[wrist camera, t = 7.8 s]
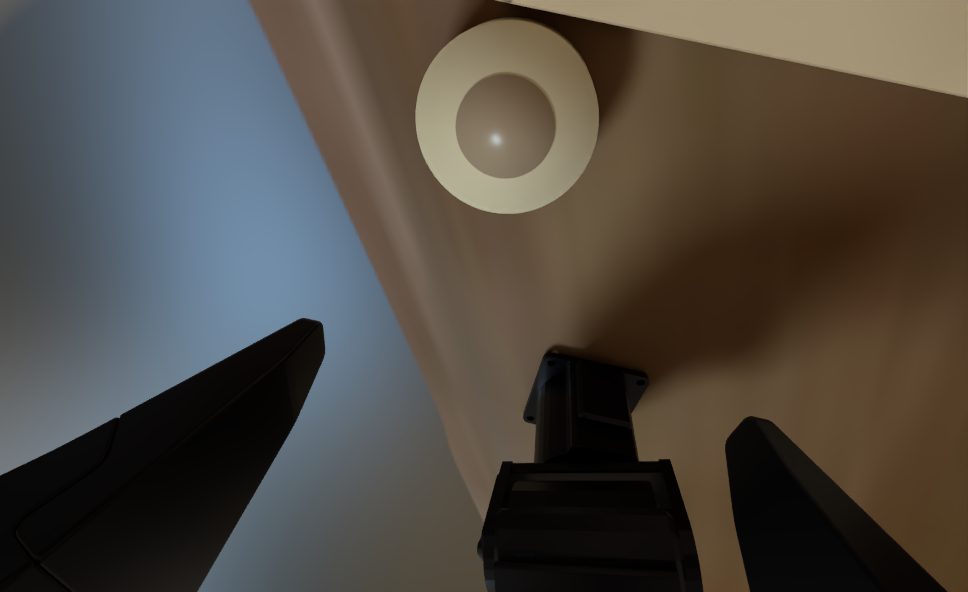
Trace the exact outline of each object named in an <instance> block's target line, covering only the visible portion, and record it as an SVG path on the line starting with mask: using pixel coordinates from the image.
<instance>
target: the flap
mask: <svg viewBox="0 0 968 592" xmlns="http://www.w3.org/2000/svg"><path fill="white" fill-rule="evenodd" d="M513 2H516V3H521V4H526V5H531V6H536V7H541V8H545V9H550V10H555V11H560V12H565V13H570V14H575V15H579V16H584V17H589V18H594V19H599V20H604V21H609V22H613V23H618V24H623V25H628V26H633V27H638V28H643V29H647V30H652V31H657V32H662V33H667V34H672V35H677V36H681V37H686V38H691V39H696V40H701V41H706V42H711V43H715V44H720V45H725V46H730V47H735V48H740V49H745V50H749V51H754V52H759V53H764V54H769V55H774V56H779V57H783V58H788V59H793V60H798V61H803V62H808V63H813V64H817V65H822V66H827V67H832V68H837V69H842V70H847V71H851V72H856V73H861V74H866V75H871V76H876V77H881V78H885V79H890V80H895V81H900V82H905V83H910V84H915V85H919V86H924V87H929V88H934V89H939V90H944V91H948V92H953V93H958V94H963V95H968V0H514V1H513Z"/></svg>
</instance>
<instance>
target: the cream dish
mask: <svg viewBox="0 0 968 592" xmlns="http://www.w3.org/2000/svg"><path fill="white" fill-rule="evenodd" d="M598 127H599V108H598V101H597V95H596V92H595V88H594V85H593V82H592V79H591V76H590V73H589V71H588V69H587V66H586V64H585V62H584V60H583V58H582V57H581V55H580V53H579V52H578V50H577V49H576V48H575V47H574V45H573V44H572V43H571V42H570V41H569V40H568V39H567V38H566V37H565V36H564V35H563V34H561V33H560V32H558V31H557V30H555V29H554V28H553V27H551V26H549V25H547V24H544V23H542V22H540V21H537V20H533V19H530V18H523V17H502V18H497V19H492V20H490V21H487V22H484V23H481V24H479V25H477V26H475V27H473V28H471V29H469V30H467V31H465V32H464V33H462V34H460V35H458V36H457V37H456V38H454V39H453V40H452V41H450V42H449V43H448V44H447V45H446V46H445V47H444V48H443V49H442V50H441V51H440V52H439V53H438V55H437V56H436V57H435V59H434V60H433V61H432V63H431V64H430V66H429V68H428V70H427V71H426V73H425V75H424V78H423V81H422V83H421V86H420V89H419V93H418V97H417V104H416V130H417V137H418V141H419V145H420V148H421V151H422V153H423V156H424V159H425V160H426V162H427V164H428V166H429V168H430V170H431V171H432V173H433V174H434V176H435V177H436V178H437V180H438V181H439V182H440V183H441V184H442V185H443V186H444V187H445V188H446V189H447V190H448V191H449V192H450V193H451V194H453V195H454V196H455V197H457V198H458V199H459V200H461V201H463V202H465V203H467V204H468V205H470V206H473V207H475V208H478V209H481V210H484V211H488V212H493V213H500V214H514V213H523V212H527V211H532V210H535V209H537V208H540V207H543V206H545V205H547V204H549V203H551V202H552V201H554V200H556V199H557V198H559V197H560V196H561V195H563V194H564V193H565V192H566V191H567V190H568V189H570V187H571V186H572V185H573V184H574V183H575V182H576V181H577V180H578V178H579V177H580V176H581V174H582V173H583V171H584V170H585V168H586V166H587V164H588V162H589V161H590V158H591V156H592V153H593V151H594V148H595V144H596V140H597V135H598Z"/></svg>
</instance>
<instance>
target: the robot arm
mask: <svg viewBox="0 0 968 592" xmlns="http://www.w3.org/2000/svg"><path fill="white" fill-rule="evenodd" d="M324 355H325V341H324V331H323V325H322V323H321V322H319V321H315V320H311V319H307V318H301V319H298V320H296V321H295V322H293V323H291V324H289V325H287V326H285V327H283V328H282V329H280V330H278V331H276V332H274V333H272V334H270V335H269V336H267V337H265V338H263V339H261V340H260V341H257V342H256V343H254V344H252V345H250V346H248V347H246V348H244V349H242V350H241V351H239V352H237V353H235V354H233V355H231V356H229V357H227V358H226V359H224V360H222V361H220V362H218V363H216V364H214V365H213V366H211V367H209V368H207V369H205V370H203V371H201V372H200V373H198V374H196V375H194V376H192V377H190V378H189V379H187V380H185V381H183V382H181V383H179V384H177V385H176V386H174V387H172V388H170V389H168V390H166V391H164V392H162V393H160V394H159V395H157V396H155V397H153V398H151V399H149V400H147V401H146V402H144V403H142V404H140V405H138V406H136V407H134V408H133V409H131V410H129V411H127V412H125V413H123V414H122V415H121V416H120V418H114V419H112V420H110V421H108V422H107V423H104V424H103V425H101V426H99V427H97V428H95V429H93V430H91V431H89V432H88V433H86V434H84V435H82V436H80V437H78V438H76V439H74V440H72V441H70V442H68V443H66V444H64V445H62V446H61V447H58V448H56V449H55V450H53V451H51V452H49V453H46V454H44V455H42V456H40V457H38V458H36V459H34V460H32V461H30V462H28V463H26V464H24V465H21V466H19V467H17V468H15V469H13V470H11V471H9V472H7V473H5V474H2V475H0V592H197V591H198V590H199V588H200V586H201V585H202V582H203V581H204V579H205V578H206V576H207V574H208V572H209V571H210V569H211V567H212V566H213V564H214V562H215V561H216V559H217V557H218V555H219V553H220V552H221V550H222V548H223V547H224V545H225V543H226V541H227V540H228V538H229V536H230V534H231V533H232V531H233V529H234V528H235V526H236V524H237V523H238V521H239V519H240V517H241V516H242V514H243V512H244V510H245V509H246V507H247V505H248V504H249V502H250V500H251V499H252V497H253V495H254V493H255V492H256V490H257V488H258V486H259V485H260V483H261V481H262V480H263V478H264V476H265V475H266V473H267V471H268V469H269V468H270V466H271V464H272V462H273V461H274V459H275V457H276V456H277V454H278V452H279V450H280V449H281V447H282V445H283V444H284V442H285V440H286V438H287V437H288V435H289V433H290V431H291V429H292V428H293V426H294V424H295V422H296V420H297V418H298V416H299V414H300V411H301V409H302V407H303V405H304V402H305V400H306V398H307V395H308V393H309V391H310V389H311V386H312V384H313V382H314V379H315V377H316V375H317V373H318V370H319V368H320V366H321V364H322V361H323V359H324ZM549 360H553V361H549ZM638 380H641V381H638ZM648 385H649V378H648V375H647V374H646V373H643V372H639V371H635V370H630V369H626V368H621V367H616V366H612V365H607V364H603V363H598V362H594V361H589V360H585V359H580V358H575V357H571V356H566V355H562V354H557V353H551V352H550V353H546V354H545V355H544V356H543V359H542V361H541V364H540V367H539V370H538V373H537V376H536V378H535V381H534V384H533V387H532V390H531V393H530V396H529V398H528V401H527V404H526V407H525V410H524V414H523V419H524V421H526V422H528V423H532V424H536V435H535V455H534V463H513V462H512V461H503V462H502V465H501V468H500V472H499V474H498V475H497V478H496V481H495V485H494V489H493V492H492V496H491V500H490V504H489V507H488V511H487V515H486V518H485V522H484V526H483V529H482V536H481V538H480V540H479V542H478V546H477V553H478V556H479V557H480V559H481V560H482V562H483V564H484V576H485V582H486V587H487V590H488V592H703V585H702V578H701V571H700V565H699V560H698V554H697V550H696V545H695V540H694V536H693V532H692V528H691V525H690V521H689V518H688V515H687V512H686V509H685V505H684V502H683V499H682V496H681V493H680V490H679V486H678V483H677V480H676V477H675V474H674V470H673V467H672V464H671V461H670V459H659V461H639V458H638V452H637V446H636V441H635V435H634V429H633V423H632V417H631V413H632V412H633V410H634V408H635V407H636V405H637V403H638V402H639V400H640V398H641V397H642V395H643V393H644V392H645V390H646V388H647V387H648ZM725 453H726V461H727V469H728V477H729V485H730V494H731V502H732V510H733V516H734V522H735V527H736V532H737V537H738V541H739V545H740V550H741V554H742V558H743V563H744V567H745V571H746V576H747V580H748V584H749V589H750V592H947V591H946V590H945V589H944V588H943V587H942V586H941V585H940V584H939V583H938V582H937V581H936V580H935V579H934V578H933V577H932V576H931V575H930V574H929V573H928V572H927V571H926V570H925V569H924V568H923V567H922V566H921V565H920V564H918V563H917V562H916V561H915V560H914V559H913V558H912V557H911V556H910V555H909V554H908V553H907V552H906V551H905V550H904V549H903V548H902V547H901V546H900V545H899V544H898V543H897V542H896V541H895V540H894V539H893V538H892V537H891V536H890V535H889V534H887V533H886V532H885V531H884V530H883V529H882V528H881V527H880V526H879V525H878V524H877V523H876V522H875V521H874V520H873V519H872V518H871V517H870V516H869V515H868V514H867V513H866V512H865V511H864V510H863V509H862V508H861V507H860V506H859V505H858V504H856V503H855V502H854V501H853V500H852V499H851V498H850V497H849V496H848V495H847V494H846V493H845V492H844V491H843V490H842V489H841V488H840V487H839V486H838V485H837V484H836V483H835V482H834V481H833V480H832V479H831V478H830V477H829V476H828V475H827V474H825V473H824V472H823V471H822V470H821V469H820V468H819V467H818V466H817V465H816V464H815V463H814V462H813V461H812V460H811V459H810V458H809V457H808V456H807V455H806V454H805V453H804V452H803V451H802V450H801V449H800V448H799V447H798V446H797V445H796V444H794V443H793V442H792V441H791V440H790V439H789V438H788V437H787V436H786V435H785V434H784V433H783V432H782V431H781V430H780V429H779V428H778V427H777V426H776V425H775V424H774V423H773V422H771V421H769V420H767V419H762V418H758V417H753V416H749V417H746V418H745V419H744V420H743V421H742V422H741V423H740V424H739V425H738V427H737V428H736V429H735V430H734V431H733V432H732V433H731V435H730V436H729V437H728V438H727V441H726V444H725Z"/></svg>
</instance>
